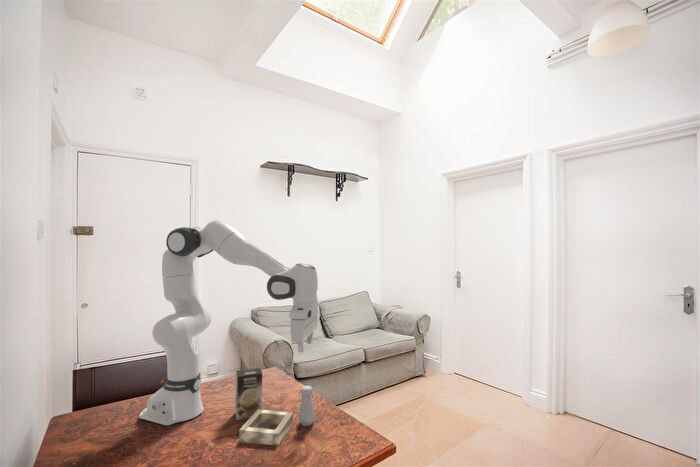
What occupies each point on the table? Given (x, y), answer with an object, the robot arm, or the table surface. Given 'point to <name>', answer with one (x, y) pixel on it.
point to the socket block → (266, 427)
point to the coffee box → (248, 392)
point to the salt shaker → (306, 407)
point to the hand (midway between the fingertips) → (305, 347)
